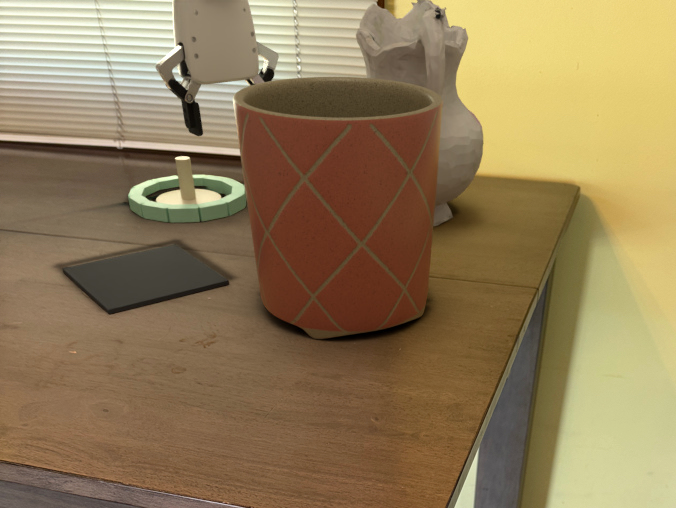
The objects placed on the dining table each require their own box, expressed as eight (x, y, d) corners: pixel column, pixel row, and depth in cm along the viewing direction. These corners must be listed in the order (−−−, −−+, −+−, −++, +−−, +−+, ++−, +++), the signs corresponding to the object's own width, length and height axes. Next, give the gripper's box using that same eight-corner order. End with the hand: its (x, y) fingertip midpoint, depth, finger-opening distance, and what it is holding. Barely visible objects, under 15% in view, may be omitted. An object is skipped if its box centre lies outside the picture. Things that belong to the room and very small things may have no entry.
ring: (160, 230, 98) (157, 216, 97) (114, 199, 108) (111, 185, 107) (266, 208, 106) (265, 195, 105) (214, 181, 115) (212, 168, 114)
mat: (109, 314, 79) (108, 309, 79) (63, 272, 87) (62, 268, 87) (229, 284, 85) (229, 280, 85) (176, 248, 94) (175, 244, 93)
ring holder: (173, 218, 102) (165, 170, 98) (146, 201, 107) (137, 155, 104) (233, 206, 106) (227, 160, 102) (204, 190, 112) (198, 146, 108)
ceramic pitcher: (508, 241, 101) (546, 17, 86) (376, 249, 94) (392, 5, 78) (433, 196, 116) (454, -2, 101) (314, 200, 108) (317, -14, 93)
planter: (466, 321, 79) (483, 107, 66) (300, 361, 72) (282, 128, 59) (380, 262, 92) (380, 71, 79) (230, 290, 84) (203, 84, 71)
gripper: (254, -30, 100) (268, 115, 111) (129, -24, 92) (158, 132, 103) (284, -25, 95) (295, 126, 106) (155, -19, 87) (182, 144, 98)
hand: (228, 129), depth 105 cm, fingers open, 9 cm apart
